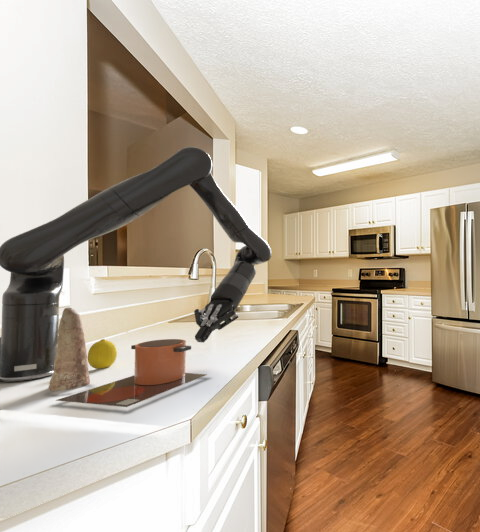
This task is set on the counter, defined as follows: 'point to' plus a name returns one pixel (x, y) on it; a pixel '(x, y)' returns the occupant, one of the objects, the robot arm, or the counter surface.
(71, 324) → the tapered standing stone
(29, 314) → the robot arm
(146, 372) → the pot
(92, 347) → the lemon
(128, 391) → the hob
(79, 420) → the counter surface
